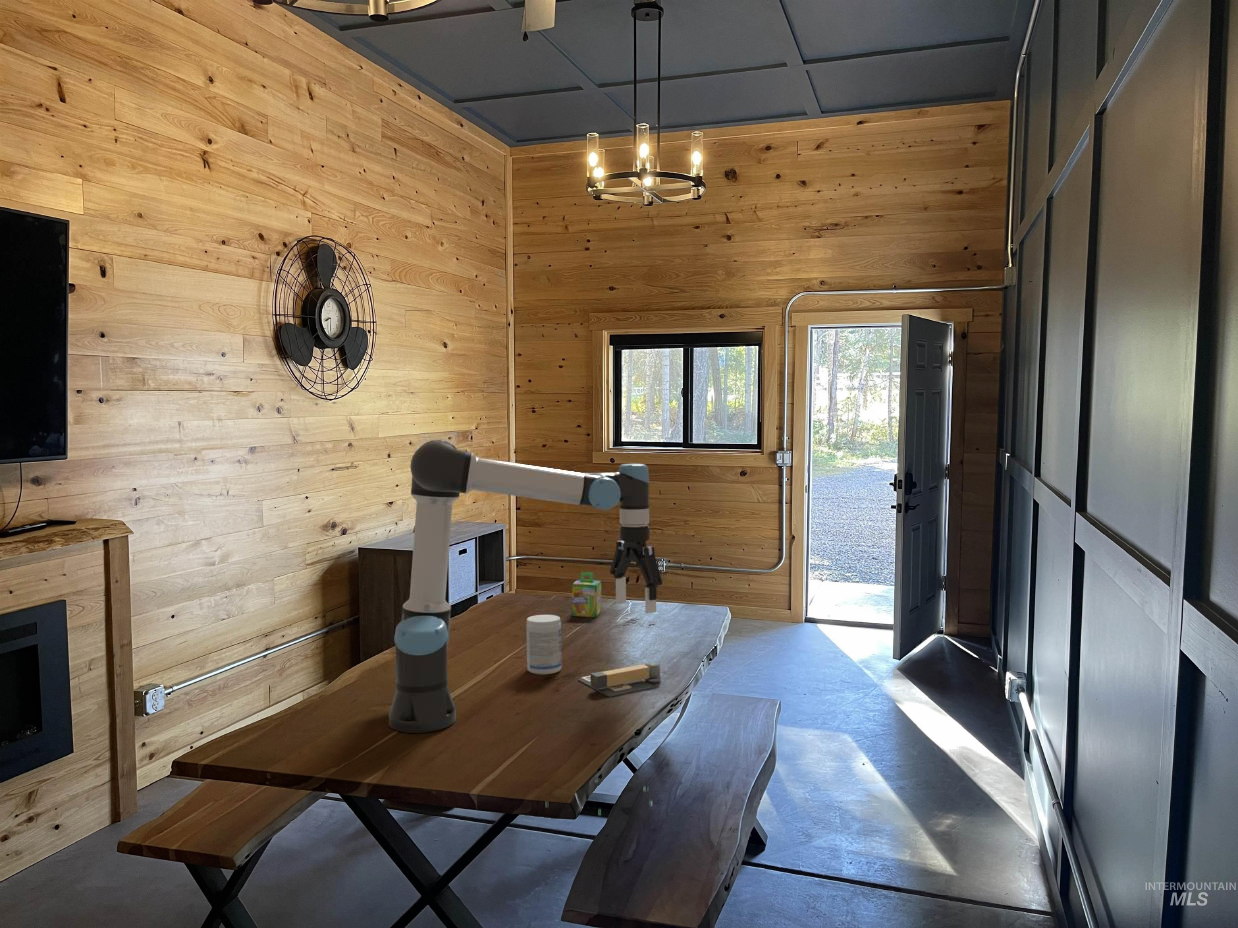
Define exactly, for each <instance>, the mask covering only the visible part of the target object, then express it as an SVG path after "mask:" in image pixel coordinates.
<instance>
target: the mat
mask: <svg viewBox="0 0 1238 928" xmlns="http://www.w3.org/2000/svg"><path fill="white" fill-rule="evenodd" d="M577 681H578V682H579V683H582V684H584V685H586V686H587V687H589V688H591V689H593V690H595V691H597V692H599V693H601V694H602V695H604V696H606V697H608V698H611V697H612V698H613V697H617V696H621V695H627V694H632V693H637V692H641V691H646V690H651V689H655V688H656V686H655V685H654V684H649V683H647V682H645V681H644V679H643V680H638V681H633V682H628V683H625V684H627V685H629V686H631V687H632V688H630V689H625V690H620V691H613V690H611V689H609V688H607V687H605V688H600V689H596V688H594V687H592V686H591V682H587V681H585V680H583V679H581V678H578V679H577Z"/></svg>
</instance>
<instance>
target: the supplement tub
mask: <svg viewBox="0 0 1238 928" xmlns="http://www.w3.org/2000/svg"><path fill="white" fill-rule="evenodd" d="M561 624H562V623H561V617H560V616H558V615H555V614H536V615H532V616H529V617H527V618H526V628H525V629H526V630H525V631H526V634H525V635H526V669H527V671H528V672H529V673H531V674H536V675H541V676H544V675H550V674H555V673H558V672H560V671H561V670H562V665H563V664H562V625H561Z"/></svg>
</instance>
